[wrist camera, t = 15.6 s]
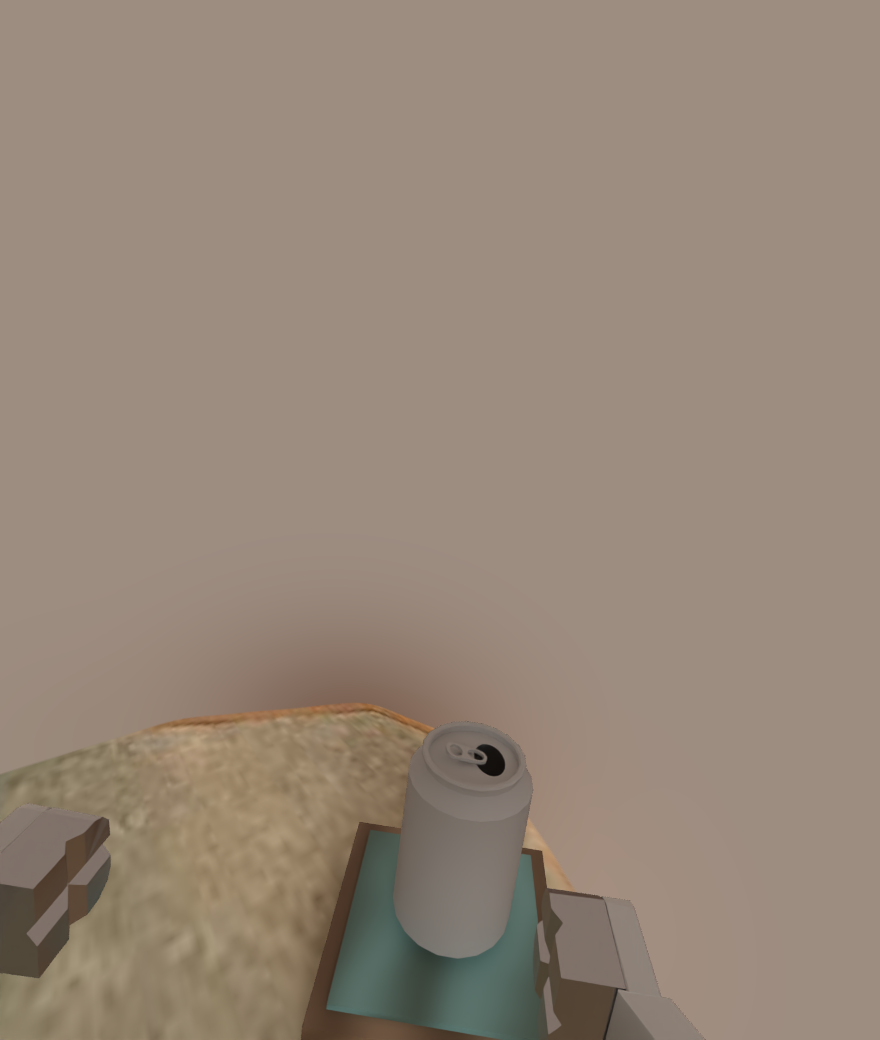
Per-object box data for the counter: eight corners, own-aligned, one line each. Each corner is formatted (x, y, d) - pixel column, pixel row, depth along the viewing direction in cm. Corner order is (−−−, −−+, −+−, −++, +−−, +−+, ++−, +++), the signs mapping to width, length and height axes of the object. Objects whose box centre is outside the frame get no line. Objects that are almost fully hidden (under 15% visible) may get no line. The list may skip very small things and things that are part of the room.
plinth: (297, 1082, 29) (302, 1021, 28) (355, 864, 43) (360, 817, 42) (558, 1129, 29) (573, 1068, 28) (533, 893, 43) (542, 846, 41)
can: (518, 971, 32) (553, 797, 29) (391, 969, 31) (414, 791, 29) (495, 863, 40) (521, 715, 37) (391, 859, 39) (409, 708, 36)
